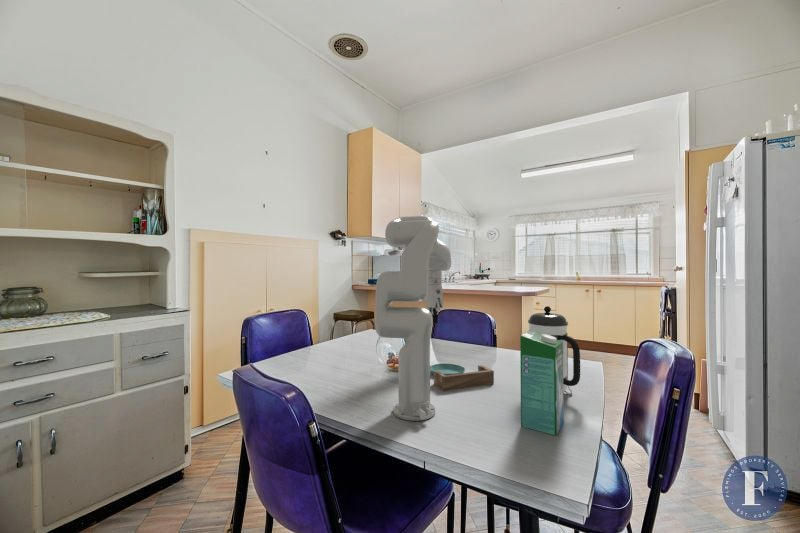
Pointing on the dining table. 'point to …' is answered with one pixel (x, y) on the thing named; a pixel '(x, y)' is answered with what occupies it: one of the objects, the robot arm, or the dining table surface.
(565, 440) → the dining table surface
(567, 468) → the dining table surface
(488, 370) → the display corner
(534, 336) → the milk carton
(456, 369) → the saucer
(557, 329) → the coffee press
